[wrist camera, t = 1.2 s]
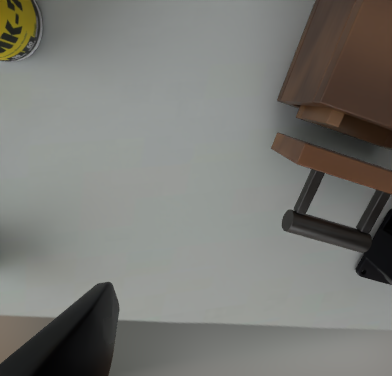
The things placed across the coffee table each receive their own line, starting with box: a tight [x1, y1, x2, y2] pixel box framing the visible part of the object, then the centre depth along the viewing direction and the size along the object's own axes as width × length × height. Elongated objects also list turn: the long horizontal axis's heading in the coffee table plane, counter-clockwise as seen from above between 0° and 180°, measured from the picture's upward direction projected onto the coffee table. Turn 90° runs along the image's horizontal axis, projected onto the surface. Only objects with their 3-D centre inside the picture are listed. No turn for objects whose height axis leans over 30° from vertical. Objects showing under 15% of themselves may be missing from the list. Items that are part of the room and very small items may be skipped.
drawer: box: [271, 105, 392, 253], centre depth 17 cm, size 14×8×5 cm, turn 162°
